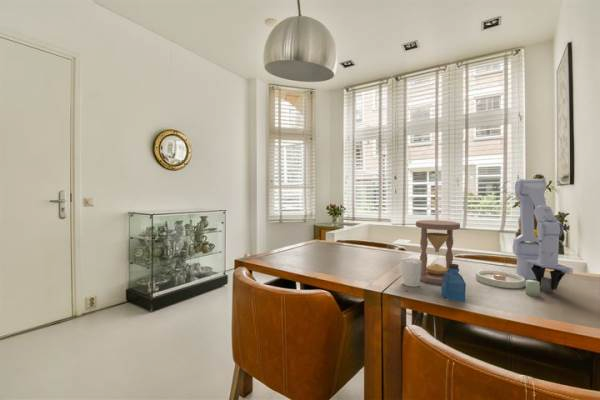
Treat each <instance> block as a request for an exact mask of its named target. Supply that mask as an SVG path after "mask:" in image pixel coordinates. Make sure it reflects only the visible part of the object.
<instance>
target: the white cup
mask: <svg viewBox="0 0 600 400" xmlns="http://www.w3.org/2000/svg"><path fill="white" fill-rule="evenodd" d="M421 265H422V261H421V260H420V259H418V258H413V257H412V258H410V257H405V258H401V278H402V280H401V281H402V285H404V286H407V287H410V288H411V287H413V288H415V287H416V288H417V287H420V285H421V280H420V278H421Z"/></svg>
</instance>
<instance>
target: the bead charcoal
mask: <svg viewBox="0 0 600 400" xmlns="http://www.w3.org/2000/svg"><path fill="white" fill-rule="evenodd" d="M551 282H552V281H551V277H547V276H544V277H541V286H539V291H541V292H543V293H546V294H554V293H555V290H553V289H551Z"/></svg>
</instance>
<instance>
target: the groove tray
mask: <svg viewBox="0 0 600 400" xmlns="http://www.w3.org/2000/svg"><path fill="white" fill-rule="evenodd" d="M475 279H476V281H478V282H480V283H481V284H486V285H488V286H493V287H498V288H506V289H521V288H524V287H526V278H524V277H522V276H520V275H517V274H514V273H512V272H508V271H504V270H496V269H495V270H494V269H481V270H477V271H476V272H475Z"/></svg>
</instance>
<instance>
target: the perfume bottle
mask: <svg viewBox="0 0 600 400" xmlns="http://www.w3.org/2000/svg"><path fill="white" fill-rule="evenodd" d="M459 267H460V266H459V264H456V263H452V264H449V267H448V270H449V272H446V273H445V274H444V275H443V277H442V285H441V295H442V296H443V297H444V299H445V300H446V299H449V300H448V301H459V300H460V302H461V301H463V302H466V292H467V291H466V284H467V283H466V282H465V280H464V278H463V275H461V274H460V273H459V272H460V268H459Z"/></svg>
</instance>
